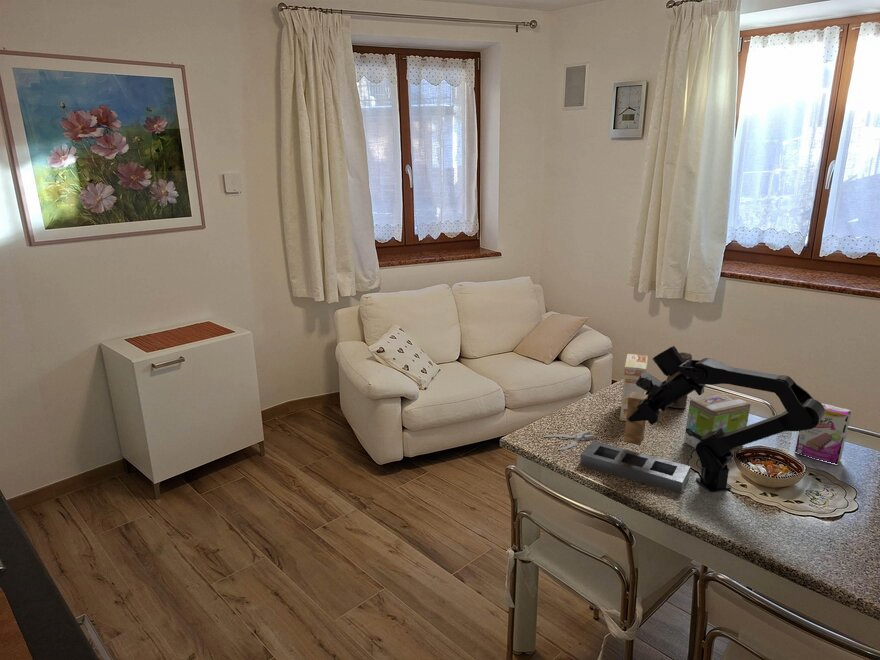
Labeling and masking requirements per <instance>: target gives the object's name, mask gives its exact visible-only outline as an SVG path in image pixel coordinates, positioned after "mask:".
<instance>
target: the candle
mask: <svg viewBox="0 0 880 660" xmlns="http://www.w3.org/2000/svg"><path fill="white" fill-rule="evenodd" d="M678 353H679V354H680V355H681V357H682V358H683V359H684V360H685V362H686V361H687V360H693V355H692V354H691V353H690V352H678ZM678 374H680V371H678V372H677V373H675V374H674V375H672V376H670V375H668V376H666V377H667V378H666V381H667V380H668V381H669V380H671V379H672V378H674V377H675V376H677V375H678ZM687 402H688V395H686V396H684V397H683V398H681V399H679V401H678V403H676V404H674V403H673V404H671V405H670V406H669V407H671V408H675V409H683V408H686V407H687Z"/></svg>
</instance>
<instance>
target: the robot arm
mask: <svg viewBox="0 0 880 660" xmlns="http://www.w3.org/2000/svg"><path fill="white" fill-rule="evenodd" d="M679 353H680V352H679V351H678V349H677V347H676V346H675V345H672V346H670V347H669V348H667V349H665V350H664V351H662V352H660V353H658V354H657V355H655V356H654V357H653V358H652V360H653V362H654V363H655V364H656V366H657V367H658V368H659V370H660V371H661V373H662V374H663V375H664V376H666V377H668V375H670V376H672V375H674V374H675V373H677V372H678V371H680V374H678V375H677V376H675V377H674V378H672V379H671V380H669V381H668V380H667V379H665V380H663V381H661V380H660V379H658V378H657V377H656V376H654V375H652V374H651V373H649V372H648V371H647V372H645V371H644V372H643V373H642V374H641V376H640V377H639V379H638V380H637V382H636V385H637V386H638V387H641V388H642V389H644V390H645V394H646V395H648V399H644V400H643V401H640V402H639V404H638V406H637V408H638V409H637V410H636V411H635V412H634V413H633V414H632V415H631V416H630V417H629V418H628V420H629V421H630V422H633V421H647V422H648V423H649V424H650V425H654V424H655V423H658V422H659V419H660V418H661V411H662V412H665V410H667V408H668V407H670V405H671V404H673V403H674V404H676V403H678V401H679V399H681V398H683V397H684V396H686V395H687V396H688V395H690V394H691V393H692V392H694V391H695V392H696V394H697V396H701V395H702V394H704V393H705V387H706V386H707V385H708V386H711V385H713V386H714V385H715V386H717V385H724V384H725V385H730V386H736V387H742V388H746V389H753V390H757V391H763V392H769V393H774V394H775V395H776V396H777V397H778V399H779V400H780V403H781V404H782V405H783V406H782V407H783V408H784V409H785V411H782V413H780V414H777V415H774V416H772V417H769V418H766V419H763V420H760V421H757V422H755V423H752V424H749V425H747V426H746V427H743V428H740V429H737V430H735V431H732V432H723V430H722V428H719V429H717V430H716V431H709V432H708V433H707V434H706V435H704V436H703V437H702V438H701V439H700V442H699V443H698V444H697V445H696V448H695V453H696V455H697V457H698V458H699V462H700V467H701V470H700V477H696V478H695V481H696V482H698V483H699V484H700V485H701V486H703V487H704V489H706V490H708V491H709V492H712V493H713V492H715V493H716V492H719V491H727V490H732V486H731V485H730V484H728V478H729V472H730V468H729V467H728V464H729V463H730V462H731V461H732V460H733V458H734V454H733V453H732V452H731V450H733V449H737V448H740V447H739V446H742V445H743V446H745V445H748V444H750V443H753V442H757V441H760V440H762V439H766V438H769V437H772V436H775V435H778V434H781V433H785V432H799V431H803V430H810V429H813V428H815V427H816V426H817V425H818V423H819V422H820V421H821V419H822V418H823V417H824V414H825V409H824V406H823V405H822V404H821V403H822V402H820V401H819V400H817V399H814V397H812V395H811V394H810V393H809V392H808V391H807V390H805V389H804V388H803V387H801V386H800V385H798V384H797V383H796V382H795V380H793V378H792V377H790V376H788V375H786V374H784V375H782V374H781V375H780V374H773V373H767V372H761V371H757V370H751V369H743V368H738V367H734V366H729V365H727V364H726V363H724V362H723V361H721V360H720V361H719V360H716V359H714V358H710V357H704V358H702V359H692V360H687V361H686V362H685V360H684V359H683V358H682V357H681V355H680V354H679ZM660 410H661V411H660ZM743 446H742V447H743ZM736 447H737V448H736Z"/></svg>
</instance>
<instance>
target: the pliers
mask: <svg viewBox="0 0 880 660" xmlns="http://www.w3.org/2000/svg"><path fill="white" fill-rule="evenodd" d="M542 437H543V438H542V439H545V438H544V437H551V438H557V437H559V438H558V439H560V438H562V437H565V438H562V439H561V440H563V439H568V438H574V439H573V440H572V442H571V439H570V440H569V439H568V440H567V443H566V446H563V447H560V448H556V449H555V450H556V451H557V450H562V451H565V450H564V449H567V450H569V449H568V448H570V449H572V448H574V447H576V446H577V444H578V443H580V442H581V441H580V440H583V441H589V440H590V441H591V440H594V439H595V438H594V437H595V436H594V434H590V431H589V430H585V431H581V432H577V433H575V435H568V434H559V433H558V434H548V435H543V436H542ZM579 441H580V442H579ZM575 445H576V446H575ZM573 446H574V447H573ZM571 447H572V448H571Z"/></svg>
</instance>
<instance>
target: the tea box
mask: <svg viewBox="0 0 880 660" xmlns="http://www.w3.org/2000/svg"><path fill="white" fill-rule="evenodd" d="M750 410H751V403H750V402H748V401H745V400H742V399H740V398H739V397H736V396H733V395H731V394H730V393H729V394H728V393H727V392H720V393H717V394H711V395H707V396H702V397H698V398H697V397H696V398H692V399H690V401H689V406H688V413H687V420H686V425H685V431H684V439H683V442H684V443H685V444H688V445H689V446H691V447H693V448H694V449H696V445H697V444H698V443H699V442H700V439H701V438H702V437H703V436H704V435H706V434H707V433H708V432H709V431H716V430H717V429H719V428H722V430H723V432H732V431H735V430H737V429H740V428H743V427H746V426H748V422H749V414H750ZM742 447H744V445H742ZM738 448H741V447H740V446H739V447H738Z"/></svg>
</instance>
